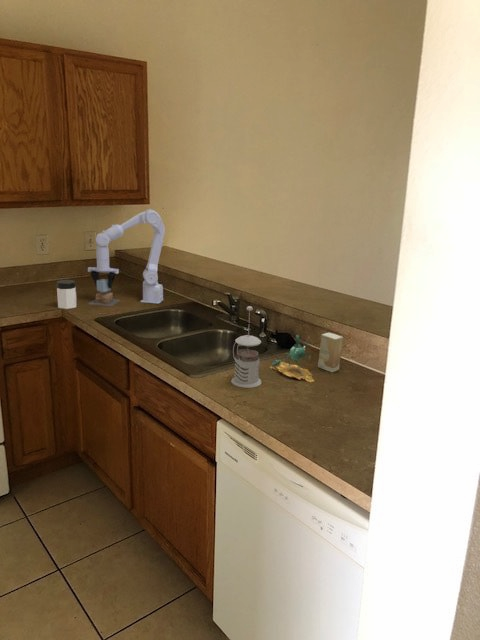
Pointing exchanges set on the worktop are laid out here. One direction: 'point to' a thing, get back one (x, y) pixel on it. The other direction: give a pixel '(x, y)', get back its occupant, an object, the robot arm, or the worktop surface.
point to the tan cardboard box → (104, 301)
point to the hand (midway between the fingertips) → (103, 287)
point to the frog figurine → (294, 370)
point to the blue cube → (103, 285)
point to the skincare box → (330, 352)
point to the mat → (104, 304)
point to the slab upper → (104, 295)
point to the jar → (66, 294)
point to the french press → (246, 361)
